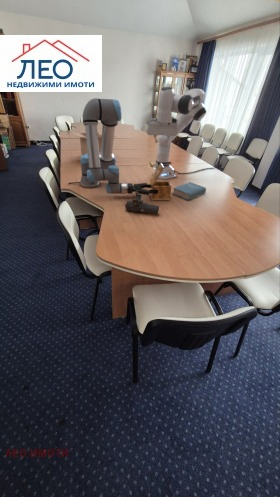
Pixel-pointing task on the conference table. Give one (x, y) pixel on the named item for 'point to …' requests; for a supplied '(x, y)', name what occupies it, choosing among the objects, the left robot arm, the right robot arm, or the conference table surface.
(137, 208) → the laser sight
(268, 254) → the conference table surface
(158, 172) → the lid
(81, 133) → the box
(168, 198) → the chest
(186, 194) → the book
